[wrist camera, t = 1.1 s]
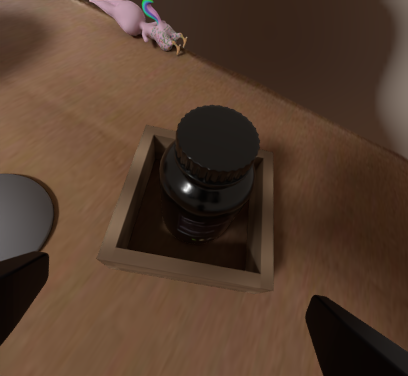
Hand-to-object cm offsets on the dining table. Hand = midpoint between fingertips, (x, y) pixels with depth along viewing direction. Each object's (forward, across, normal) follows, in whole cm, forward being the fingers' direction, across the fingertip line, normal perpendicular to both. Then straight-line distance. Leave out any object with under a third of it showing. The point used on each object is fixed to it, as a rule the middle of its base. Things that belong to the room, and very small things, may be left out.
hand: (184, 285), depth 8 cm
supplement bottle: (+15, -1, +3) cm, 16 cm away
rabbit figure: (+34, +12, -17) cm, 40 cm away
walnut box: (+15, -1, +3) cm, 15 cm away
